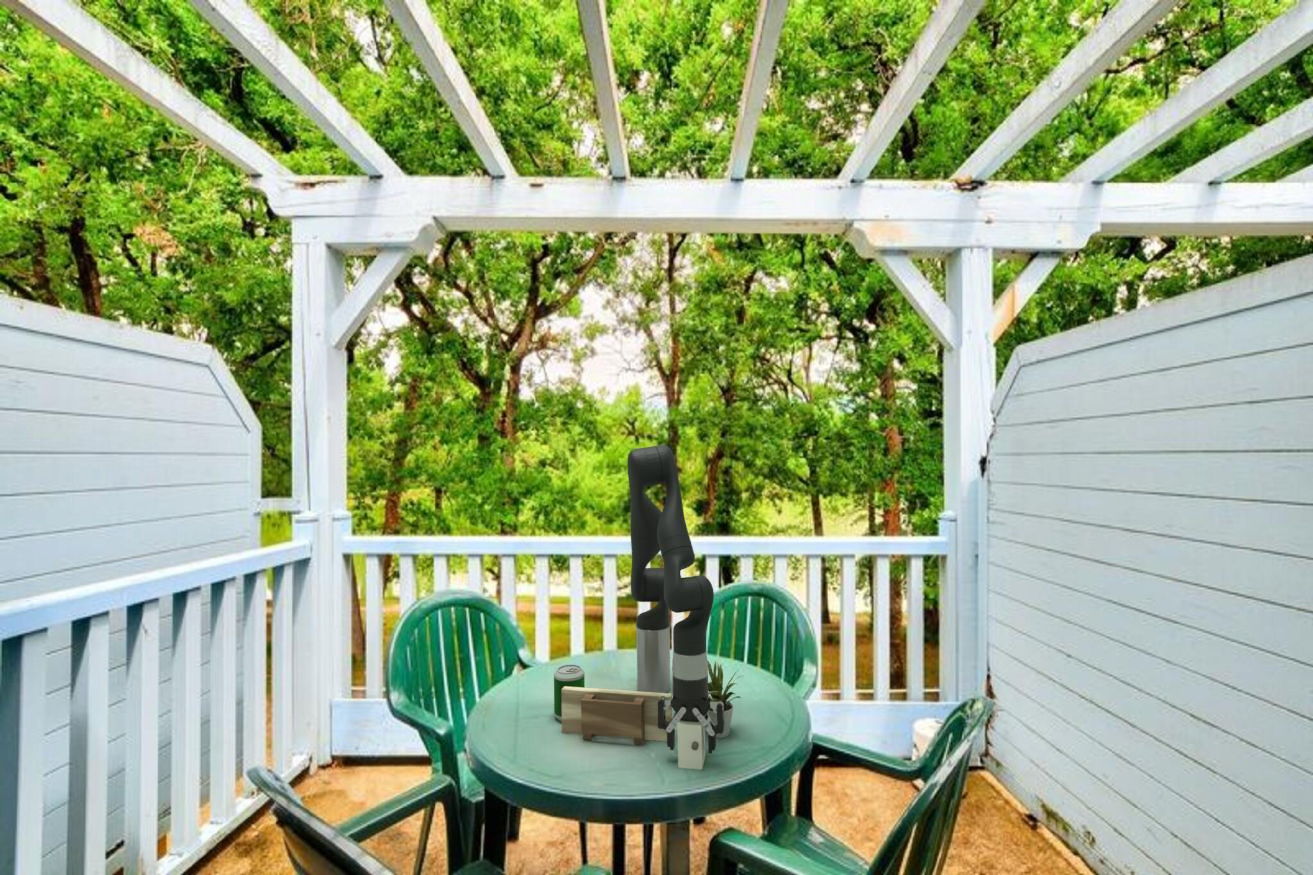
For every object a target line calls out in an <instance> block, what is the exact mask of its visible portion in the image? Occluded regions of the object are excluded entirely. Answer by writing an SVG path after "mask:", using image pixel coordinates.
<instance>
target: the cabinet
mask: <svg viewBox="0 0 1313 875" xmlns="http://www.w3.org/2000/svg"><path fill="white" fill-rule="evenodd" d="M676 726H677V768H680V769H689V770H700V771H702V770H703V767H704V763H705V759H706V744H705V743H706V742H705V740H706V737H705V736H706V732H705V731H706V729H705V728H704V727H703V726H702V724H701V723H700V721H699V722H691V721H689V722H687V721H683V720H681V719H680V720H679V722H678V723H677V725H676Z"/></svg>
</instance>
